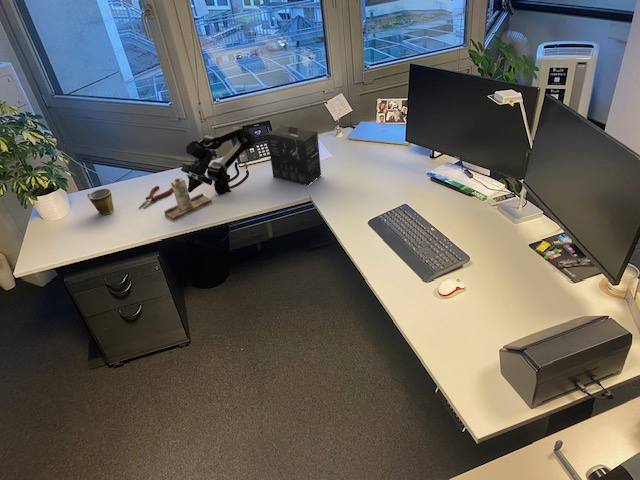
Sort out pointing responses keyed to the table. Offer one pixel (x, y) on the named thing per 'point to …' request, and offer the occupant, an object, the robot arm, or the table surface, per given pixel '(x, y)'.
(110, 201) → the ceramic cup
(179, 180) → the beige boxy piece
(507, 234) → the table surface
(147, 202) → the pliers
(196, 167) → the robot arm
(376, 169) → the table surface
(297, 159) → the headset box
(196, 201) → the board
